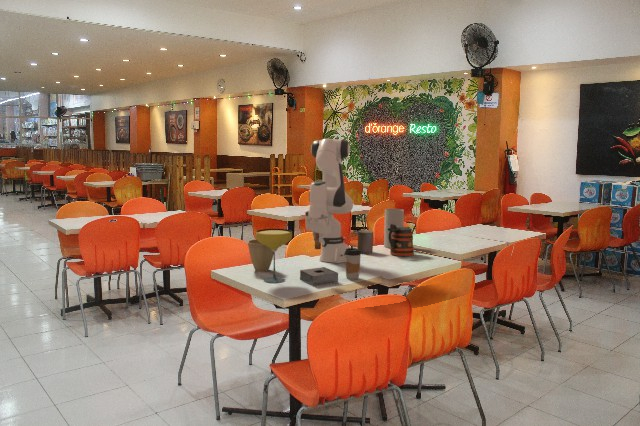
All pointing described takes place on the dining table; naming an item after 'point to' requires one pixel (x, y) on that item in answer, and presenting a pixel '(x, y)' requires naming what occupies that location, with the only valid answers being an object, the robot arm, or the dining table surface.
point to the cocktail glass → (274, 245)
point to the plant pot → (260, 255)
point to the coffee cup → (352, 263)
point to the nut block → (318, 276)
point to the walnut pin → (317, 244)
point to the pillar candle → (365, 241)
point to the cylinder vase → (392, 222)
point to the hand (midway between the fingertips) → (318, 241)
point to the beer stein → (401, 241)
